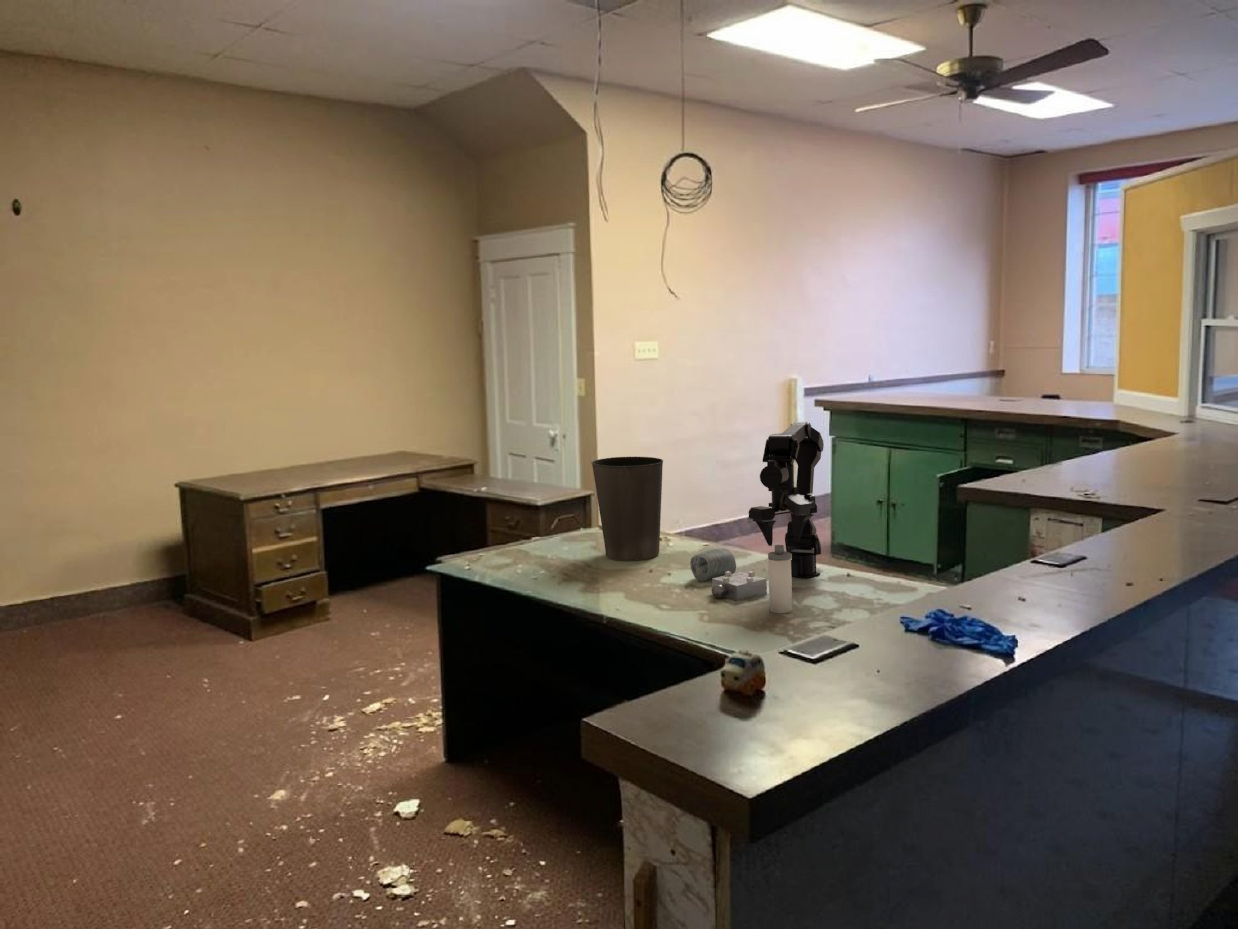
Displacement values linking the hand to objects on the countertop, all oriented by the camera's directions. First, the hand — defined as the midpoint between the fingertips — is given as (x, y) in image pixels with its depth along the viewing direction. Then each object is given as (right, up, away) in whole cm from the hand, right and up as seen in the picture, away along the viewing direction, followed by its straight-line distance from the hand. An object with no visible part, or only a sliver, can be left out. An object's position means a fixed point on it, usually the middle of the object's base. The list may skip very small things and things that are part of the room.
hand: (783, 543), depth 238 cm
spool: (-16, -12, +21) cm, 29 cm away
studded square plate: (-12, -14, +3) cm, 18 cm away
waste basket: (-38, -8, +54) cm, 66 cm away
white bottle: (-3, -15, -13) cm, 20 cm away
